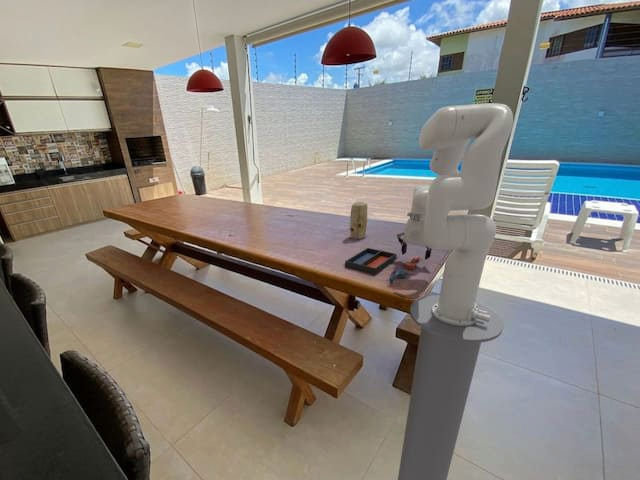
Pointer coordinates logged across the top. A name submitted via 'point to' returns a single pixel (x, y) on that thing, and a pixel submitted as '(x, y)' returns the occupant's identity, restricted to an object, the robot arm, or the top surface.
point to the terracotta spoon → (412, 263)
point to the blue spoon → (397, 275)
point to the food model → (358, 220)
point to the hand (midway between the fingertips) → (415, 256)
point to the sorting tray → (370, 261)
